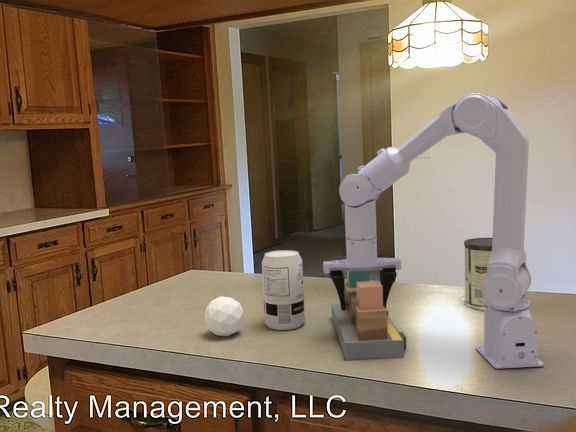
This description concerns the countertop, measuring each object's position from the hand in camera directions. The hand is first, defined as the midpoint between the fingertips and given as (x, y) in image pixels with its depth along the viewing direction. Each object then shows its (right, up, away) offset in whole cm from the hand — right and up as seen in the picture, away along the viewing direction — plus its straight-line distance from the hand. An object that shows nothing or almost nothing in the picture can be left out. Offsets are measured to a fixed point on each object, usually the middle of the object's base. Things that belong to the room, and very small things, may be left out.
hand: (363, 308), depth 112 cm
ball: (-27, -6, +5) cm, 28 cm away
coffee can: (+30, -2, +17) cm, 34 cm away
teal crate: (0, +4, +7) cm, 8 cm away
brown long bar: (0, -2, 0) cm, 2 cm away
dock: (0, -5, +1) cm, 5 cm away
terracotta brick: (0, +2, -8) cm, 8 cm away
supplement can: (-15, -5, +9) cm, 18 cm away
